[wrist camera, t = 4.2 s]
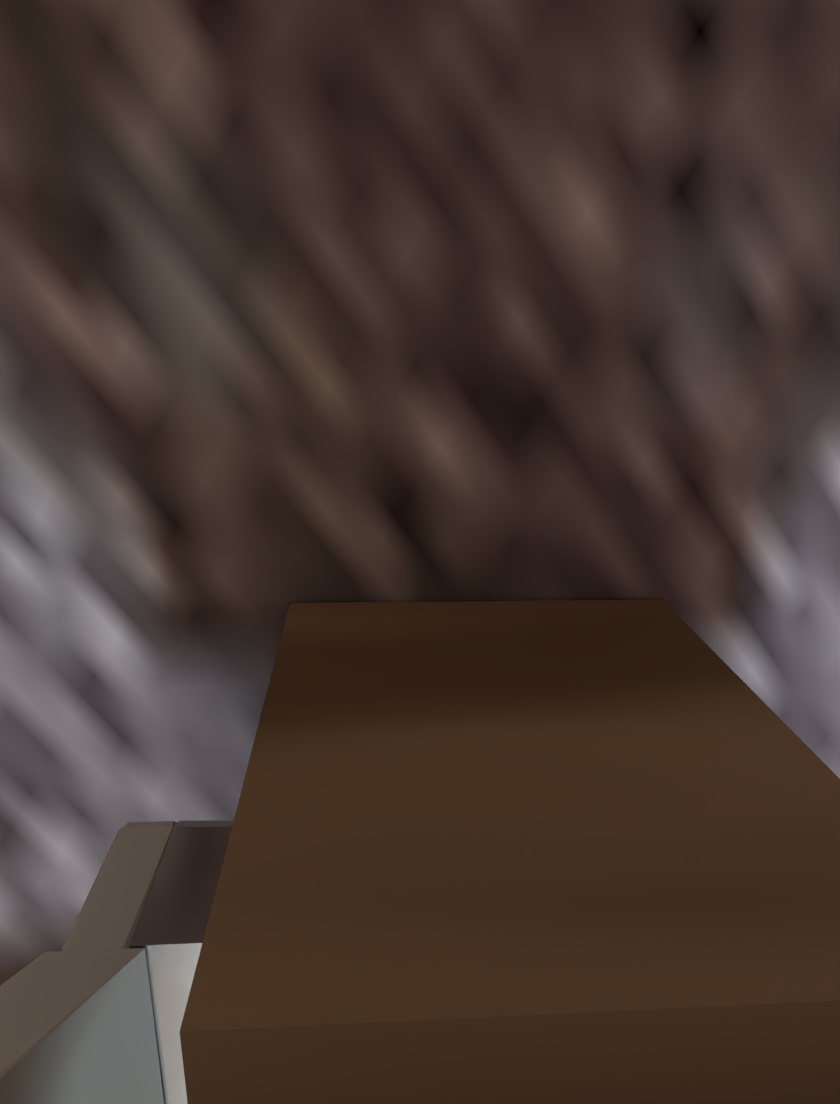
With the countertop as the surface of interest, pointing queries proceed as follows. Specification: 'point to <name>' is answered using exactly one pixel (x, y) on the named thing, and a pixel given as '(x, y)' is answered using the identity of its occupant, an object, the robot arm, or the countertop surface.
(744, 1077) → the block
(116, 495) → the countertop surface
